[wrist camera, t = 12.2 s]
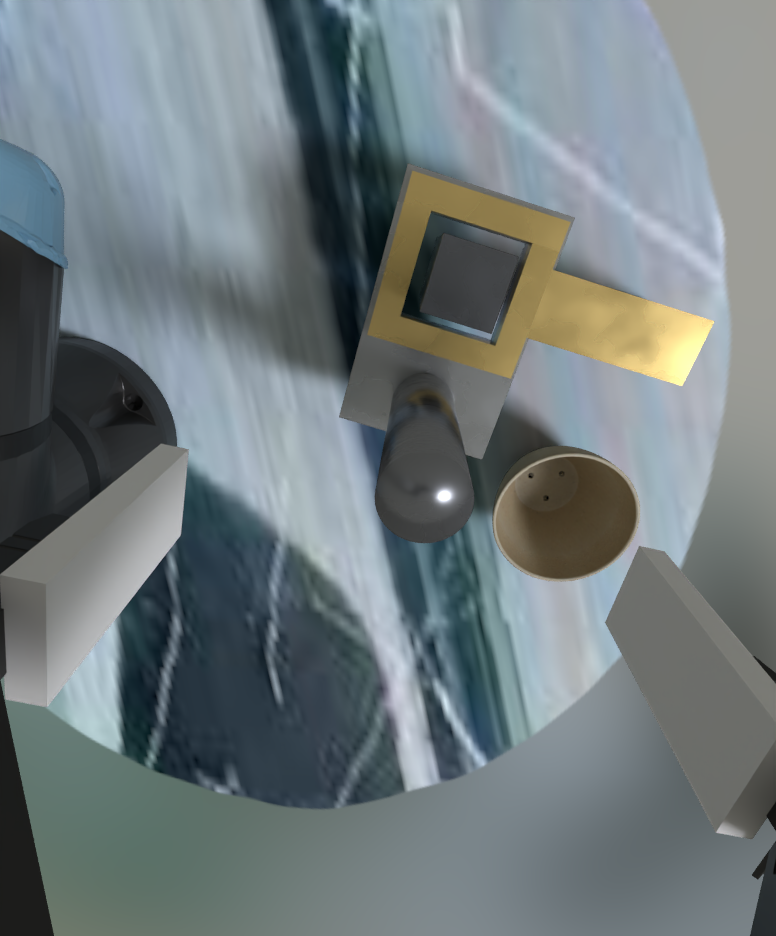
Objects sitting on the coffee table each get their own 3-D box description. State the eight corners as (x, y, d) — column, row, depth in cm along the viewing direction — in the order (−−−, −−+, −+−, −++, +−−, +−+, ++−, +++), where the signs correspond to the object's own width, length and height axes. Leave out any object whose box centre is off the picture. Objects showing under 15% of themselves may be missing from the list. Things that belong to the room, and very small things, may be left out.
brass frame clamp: (347, 403, 44) (285, 538, 24) (409, 178, 38) (398, 95, 18) (581, 473, 45) (716, 660, 25) (678, 264, 39) (961, 282, 19)
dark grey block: (437, 237, 39) (444, 232, 28) (490, 254, 40) (519, 257, 28) (419, 294, 41) (419, 311, 30) (472, 310, 41) (491, 333, 30)
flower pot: (503, 408, 44) (519, 438, 37) (626, 439, 44) (664, 473, 37) (467, 520, 47) (475, 565, 41) (581, 547, 48) (607, 595, 41)
